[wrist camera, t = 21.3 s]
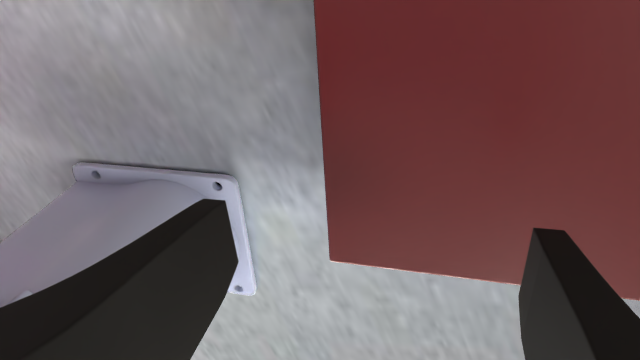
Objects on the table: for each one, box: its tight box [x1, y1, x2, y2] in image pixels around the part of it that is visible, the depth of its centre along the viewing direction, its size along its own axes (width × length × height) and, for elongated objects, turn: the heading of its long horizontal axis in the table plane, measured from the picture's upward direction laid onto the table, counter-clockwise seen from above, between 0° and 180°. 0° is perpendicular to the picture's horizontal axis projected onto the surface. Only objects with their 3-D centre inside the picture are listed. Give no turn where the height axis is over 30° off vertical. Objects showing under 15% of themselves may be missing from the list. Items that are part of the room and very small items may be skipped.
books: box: [314, 0, 640, 301], centre depth 15 cm, size 11×10×6 cm
